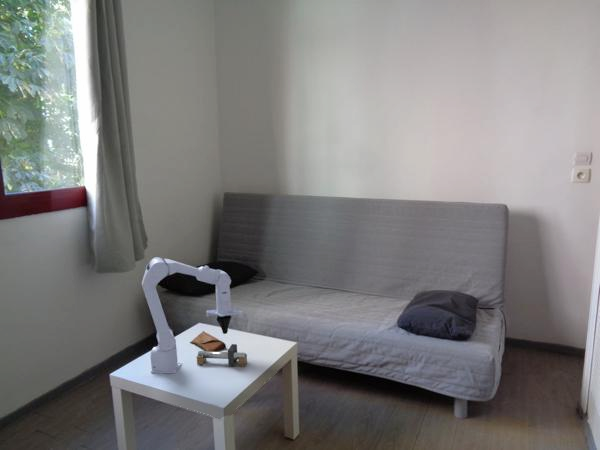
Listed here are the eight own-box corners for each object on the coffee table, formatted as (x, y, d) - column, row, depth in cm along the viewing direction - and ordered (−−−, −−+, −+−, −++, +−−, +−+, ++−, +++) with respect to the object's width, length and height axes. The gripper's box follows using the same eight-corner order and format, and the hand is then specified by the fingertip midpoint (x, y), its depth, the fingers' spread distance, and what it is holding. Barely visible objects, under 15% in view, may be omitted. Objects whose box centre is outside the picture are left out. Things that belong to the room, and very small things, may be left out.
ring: (228, 365, 177) (227, 350, 176) (232, 359, 183) (231, 344, 182) (233, 366, 177) (232, 350, 176) (237, 359, 182) (236, 344, 181)
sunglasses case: (187, 342, 201) (193, 327, 203) (200, 345, 206) (206, 331, 207) (209, 355, 188) (215, 339, 190) (222, 358, 193) (228, 343, 194)
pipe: (197, 364, 180) (196, 353, 179) (200, 360, 184) (200, 348, 183) (244, 366, 177) (243, 355, 176) (247, 362, 181) (246, 350, 180)
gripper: (202, 304, 179) (205, 336, 182) (238, 304, 177) (240, 337, 180) (208, 298, 186) (210, 329, 188) (242, 298, 184) (244, 330, 187)
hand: (225, 332), depth 185 cm, fingers closed
